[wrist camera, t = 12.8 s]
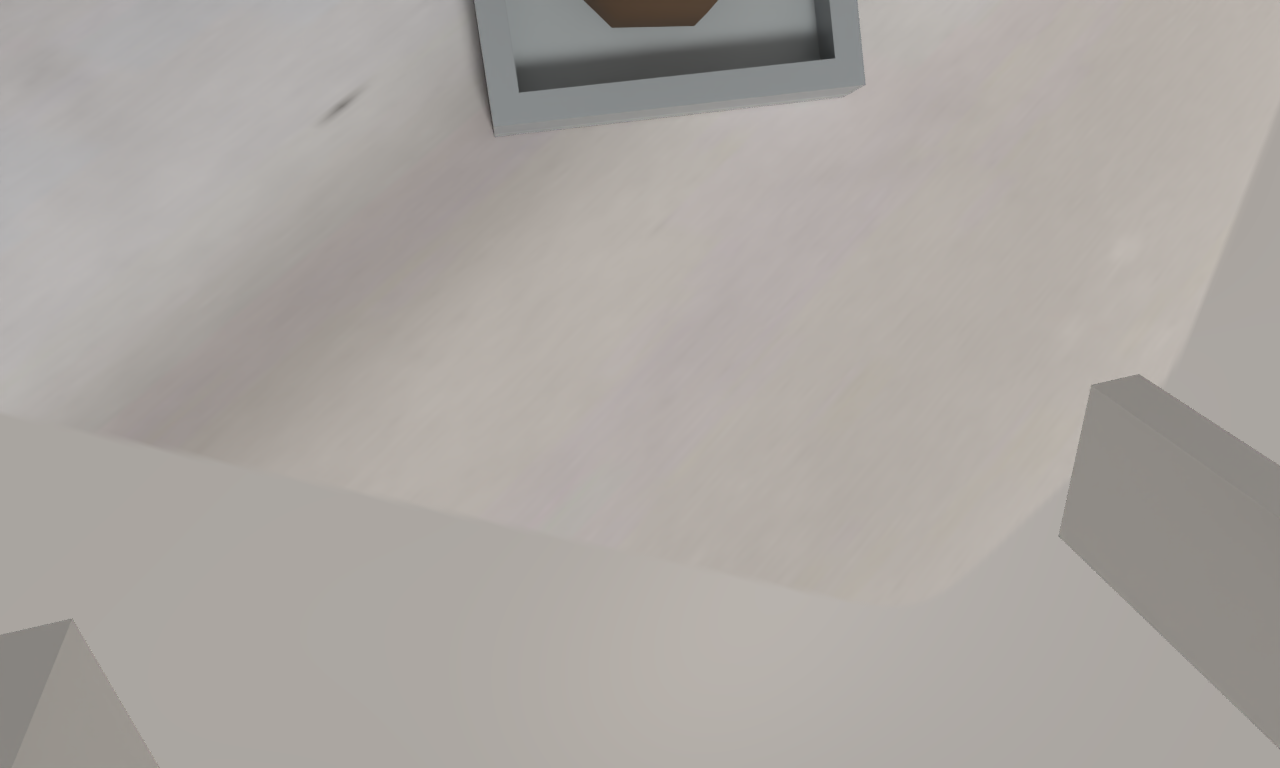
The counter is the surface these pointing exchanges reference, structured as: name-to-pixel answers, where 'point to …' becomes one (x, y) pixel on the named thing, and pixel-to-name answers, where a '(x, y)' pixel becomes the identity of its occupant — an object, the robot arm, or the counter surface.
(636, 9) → the beer bottle
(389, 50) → the counter surface
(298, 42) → the counter surface
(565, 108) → the keeper tray
